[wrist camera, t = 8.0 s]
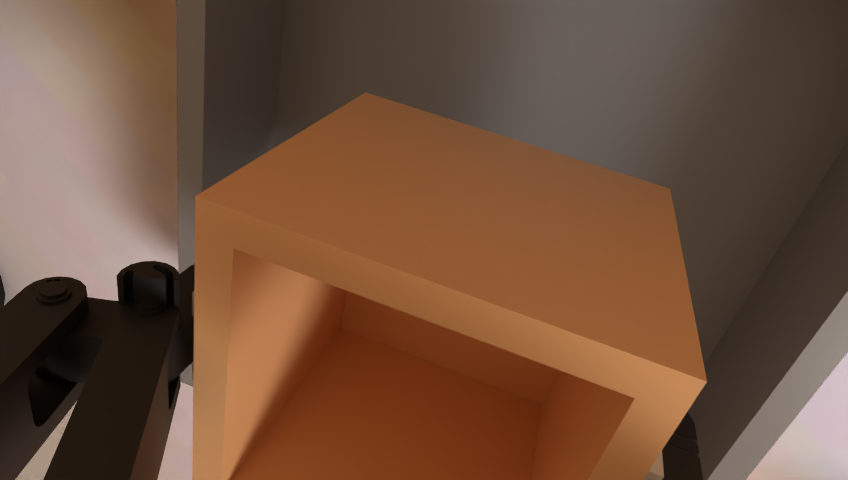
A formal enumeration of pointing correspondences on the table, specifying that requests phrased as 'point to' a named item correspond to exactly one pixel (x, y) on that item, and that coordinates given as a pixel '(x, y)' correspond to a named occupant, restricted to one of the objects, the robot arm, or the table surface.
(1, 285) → the coffee jar
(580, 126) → the charcoal crate
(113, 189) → the table surface
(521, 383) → the orange crate
